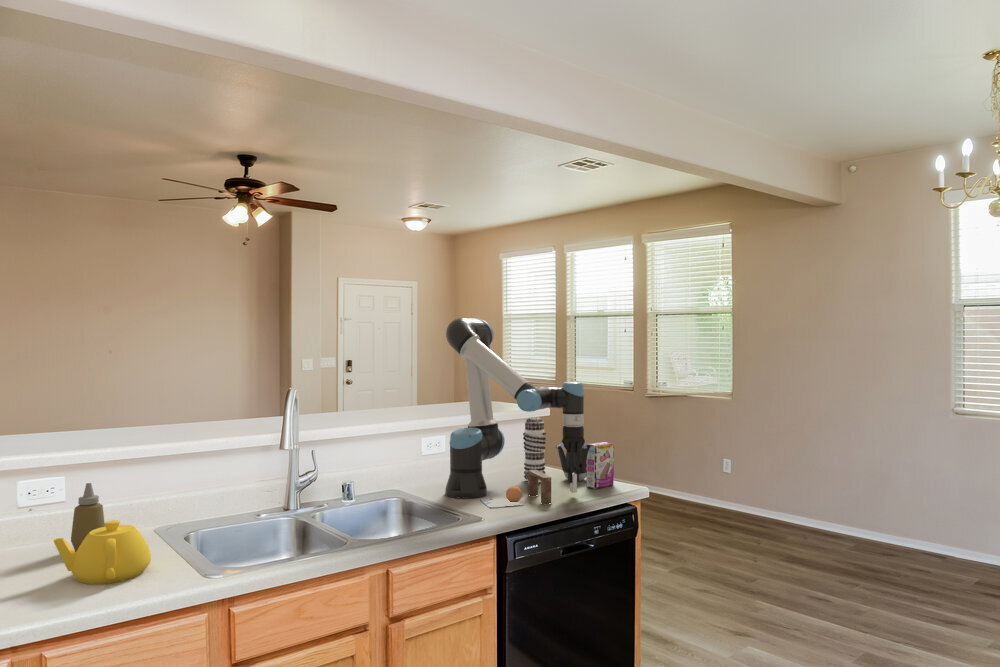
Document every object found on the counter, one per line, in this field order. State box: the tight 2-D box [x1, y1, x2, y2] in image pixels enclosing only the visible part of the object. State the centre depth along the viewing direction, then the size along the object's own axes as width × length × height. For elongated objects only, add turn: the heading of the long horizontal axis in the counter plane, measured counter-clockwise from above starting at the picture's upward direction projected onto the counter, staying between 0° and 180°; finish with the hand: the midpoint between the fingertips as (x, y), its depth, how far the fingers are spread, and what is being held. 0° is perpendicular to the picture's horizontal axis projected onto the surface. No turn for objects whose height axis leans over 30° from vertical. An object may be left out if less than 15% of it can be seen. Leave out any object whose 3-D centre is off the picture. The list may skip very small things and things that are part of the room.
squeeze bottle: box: [70, 482, 105, 552], centre depth 179 cm, size 8×8×18 cm
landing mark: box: [480, 498, 501, 507], centre depth 231 cm, size 12×12×1 cm
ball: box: [505, 485, 523, 502], centre depth 232 cm, size 6×6×6 cm
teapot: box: [53, 519, 152, 585], centre depth 159 cm, size 20×19×13 cm
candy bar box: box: [585, 441, 615, 490], centre depth 257 cm, size 11×5×16 cm, turn 132°
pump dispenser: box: [562, 446, 587, 482], centre depth 269 cm, size 10×10×15 cm
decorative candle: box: [522, 416, 547, 482], centre depth 268 cm, size 9×9×25 cm
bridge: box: [527, 470, 552, 505], centre depth 235 cm, size 3×14×9 cm, turn 18°
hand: (573, 491), depth 239 cm, fingers closed
